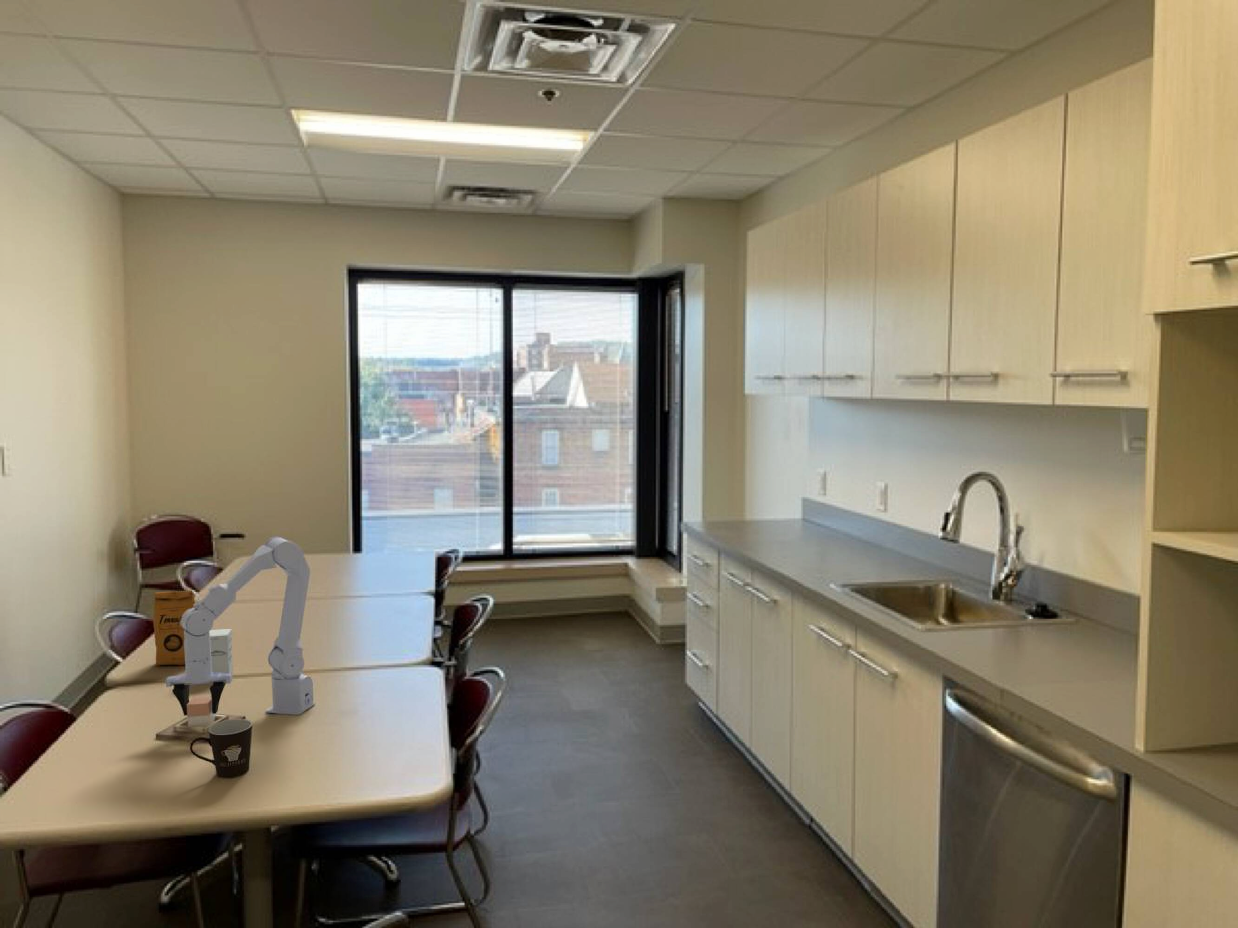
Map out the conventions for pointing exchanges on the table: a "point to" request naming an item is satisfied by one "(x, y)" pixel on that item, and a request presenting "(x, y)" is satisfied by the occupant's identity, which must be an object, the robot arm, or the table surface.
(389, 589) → the table surface
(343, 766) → the table surface
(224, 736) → the coffee mug
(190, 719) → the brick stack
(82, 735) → the table surface
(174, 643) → the coffee package
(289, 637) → the robot arm
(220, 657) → the supplement box
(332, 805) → the table surface
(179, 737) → the walnut board
